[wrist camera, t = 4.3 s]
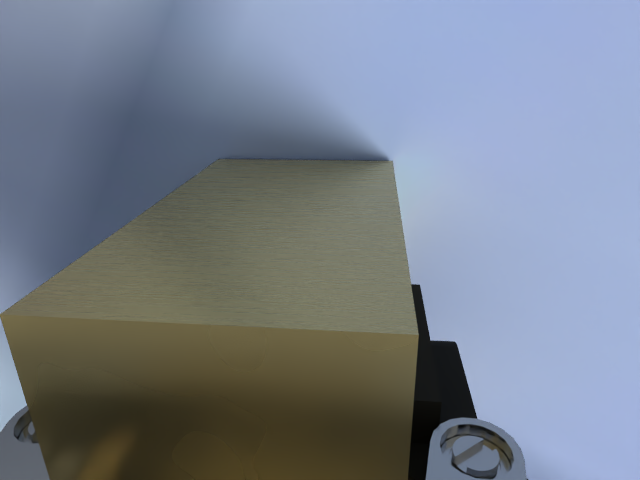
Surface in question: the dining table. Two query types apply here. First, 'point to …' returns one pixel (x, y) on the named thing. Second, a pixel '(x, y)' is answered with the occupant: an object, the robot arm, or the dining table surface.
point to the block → (231, 333)
